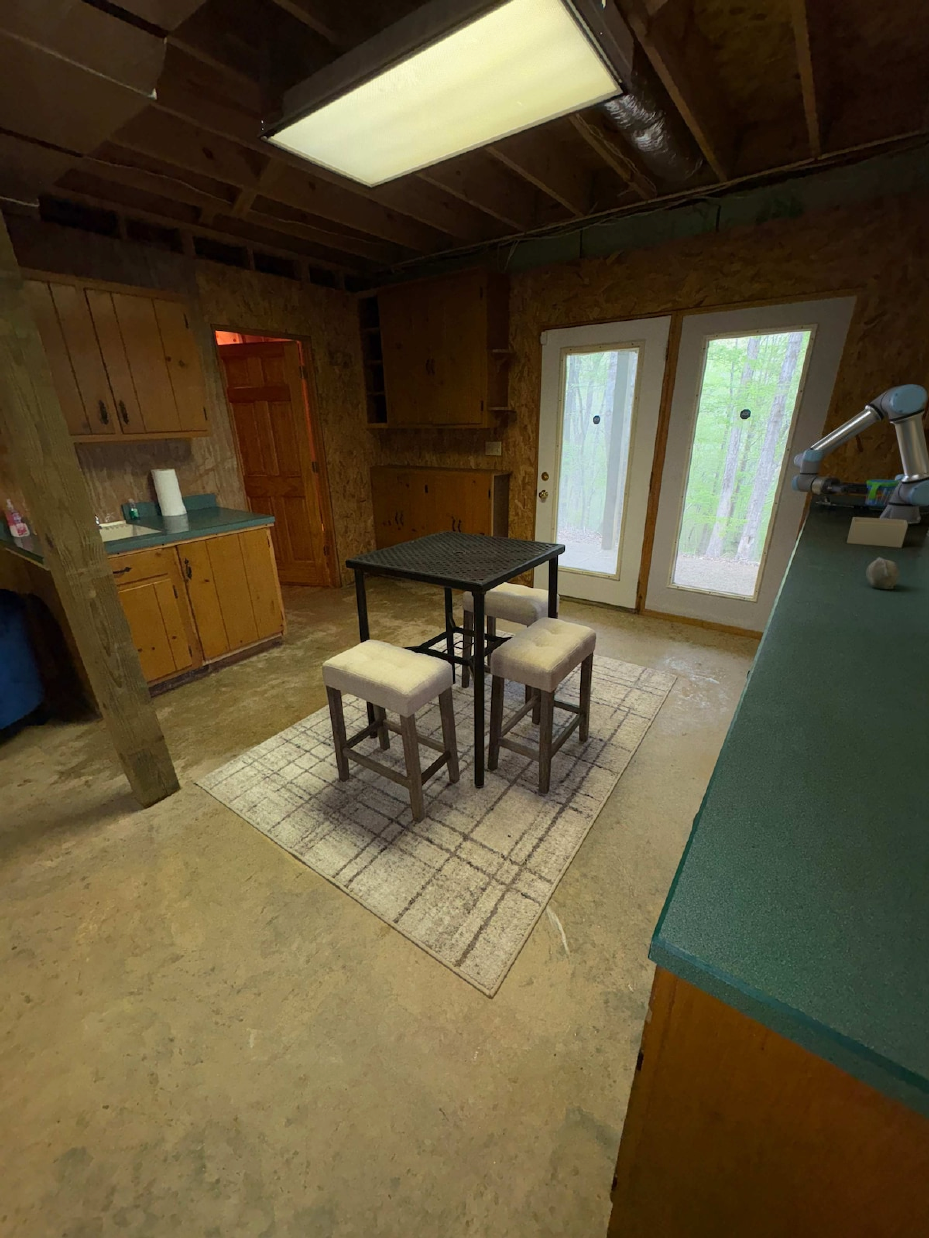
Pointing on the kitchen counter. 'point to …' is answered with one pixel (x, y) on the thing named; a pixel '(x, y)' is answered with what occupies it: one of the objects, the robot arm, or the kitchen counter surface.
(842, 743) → the kitchen counter surface
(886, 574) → the garlic bulb
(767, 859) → the kitchen counter surface
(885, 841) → the kitchen counter surface
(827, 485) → the robot arm
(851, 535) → the tan rectangular box
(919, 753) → the kitchen counter surface
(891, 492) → the snack cup
